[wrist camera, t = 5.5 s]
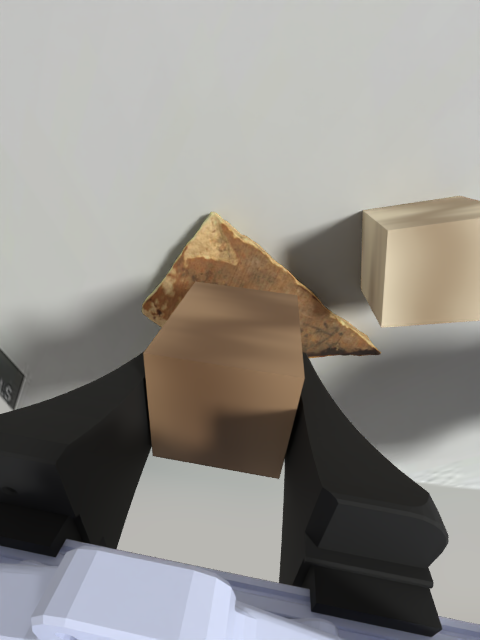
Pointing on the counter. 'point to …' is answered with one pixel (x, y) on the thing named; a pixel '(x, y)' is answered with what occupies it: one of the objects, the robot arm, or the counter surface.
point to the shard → (251, 287)
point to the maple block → (422, 262)
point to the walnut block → (226, 379)
